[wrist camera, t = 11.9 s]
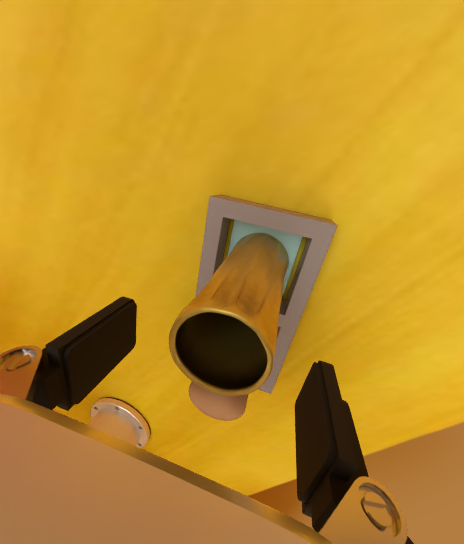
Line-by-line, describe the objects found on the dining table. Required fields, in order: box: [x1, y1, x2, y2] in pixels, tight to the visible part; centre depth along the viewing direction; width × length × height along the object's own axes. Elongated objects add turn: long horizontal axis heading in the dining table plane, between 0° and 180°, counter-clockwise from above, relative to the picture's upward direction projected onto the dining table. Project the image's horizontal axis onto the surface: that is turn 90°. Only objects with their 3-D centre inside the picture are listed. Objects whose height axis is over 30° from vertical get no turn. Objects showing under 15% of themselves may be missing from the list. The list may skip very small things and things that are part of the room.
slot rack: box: [196, 195, 337, 394], centre depth 24 cm, size 20×11×3 cm, turn 169°
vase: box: [169, 233, 289, 396], centre depth 17 cm, size 6×6×14 cm
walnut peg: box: [189, 381, 248, 421], centre depth 22 cm, size 5×5×10 cm
